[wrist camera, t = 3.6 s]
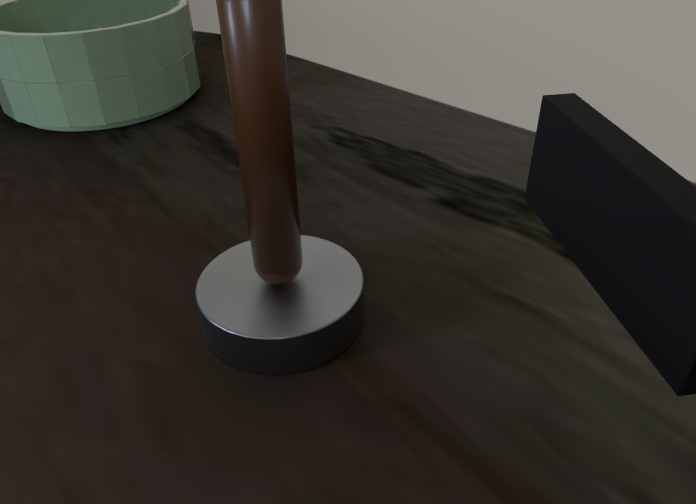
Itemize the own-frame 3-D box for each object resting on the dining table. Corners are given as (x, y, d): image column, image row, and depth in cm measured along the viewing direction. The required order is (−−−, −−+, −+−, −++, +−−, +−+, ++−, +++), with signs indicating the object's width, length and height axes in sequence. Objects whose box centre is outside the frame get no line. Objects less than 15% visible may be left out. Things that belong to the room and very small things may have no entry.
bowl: (11, 153, 40) (-29, 48, 36) (1, 86, 51) (-31, 0, 47) (226, 109, 45) (212, 14, 41) (175, 57, 56) (160, -22, 52)
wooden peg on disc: (234, 401, 22) (98, -286, 11) (183, 296, 27) (56, -244, 16) (394, 336, 24) (415, -269, 13) (320, 252, 30) (292, -237, 19)
